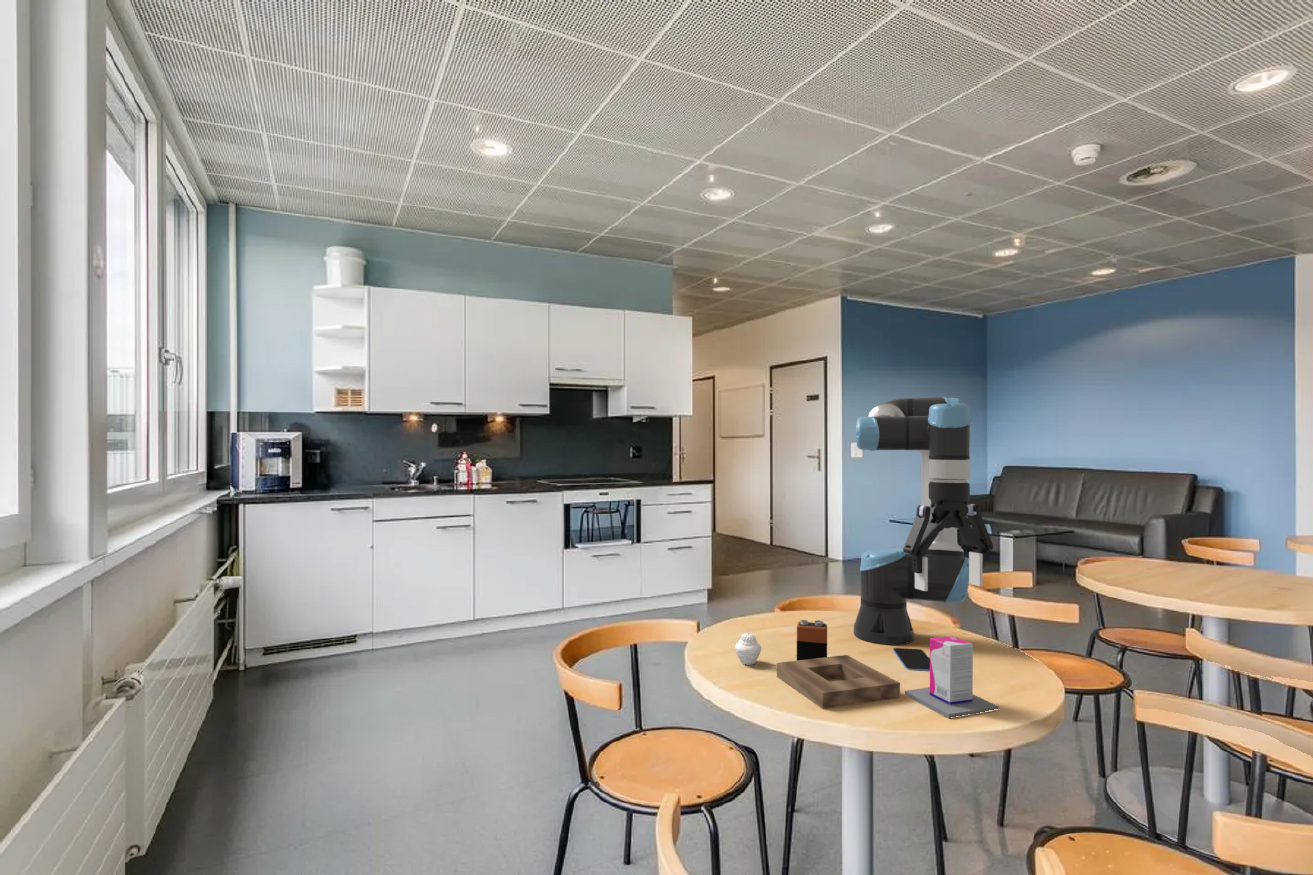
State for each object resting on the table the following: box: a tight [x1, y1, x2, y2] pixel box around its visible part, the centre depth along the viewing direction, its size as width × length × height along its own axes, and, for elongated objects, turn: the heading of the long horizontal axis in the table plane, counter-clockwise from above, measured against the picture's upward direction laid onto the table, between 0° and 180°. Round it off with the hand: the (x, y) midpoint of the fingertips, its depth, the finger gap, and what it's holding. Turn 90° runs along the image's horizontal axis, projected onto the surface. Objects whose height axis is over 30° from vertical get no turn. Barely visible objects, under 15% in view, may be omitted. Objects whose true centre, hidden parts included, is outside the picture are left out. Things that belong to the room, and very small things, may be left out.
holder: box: [776, 654, 901, 710], centre depth 135 cm, size 18×18×3 cm
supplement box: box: [929, 635, 974, 705], centre depth 127 cm, size 6×6×12 cm
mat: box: [904, 686, 999, 719], centre depth 127 cm, size 12×12×1 cm
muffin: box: [734, 632, 762, 666], centre depth 150 cm, size 6×6×7 cm
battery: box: [796, 619, 828, 661], centre depth 149 cm, size 4×7×10 cm, turn 74°
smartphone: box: [892, 647, 930, 672], centre depth 152 cm, size 7×1×15 cm
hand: (948, 587), depth 128 cm, fingers open, 13 cm apart
